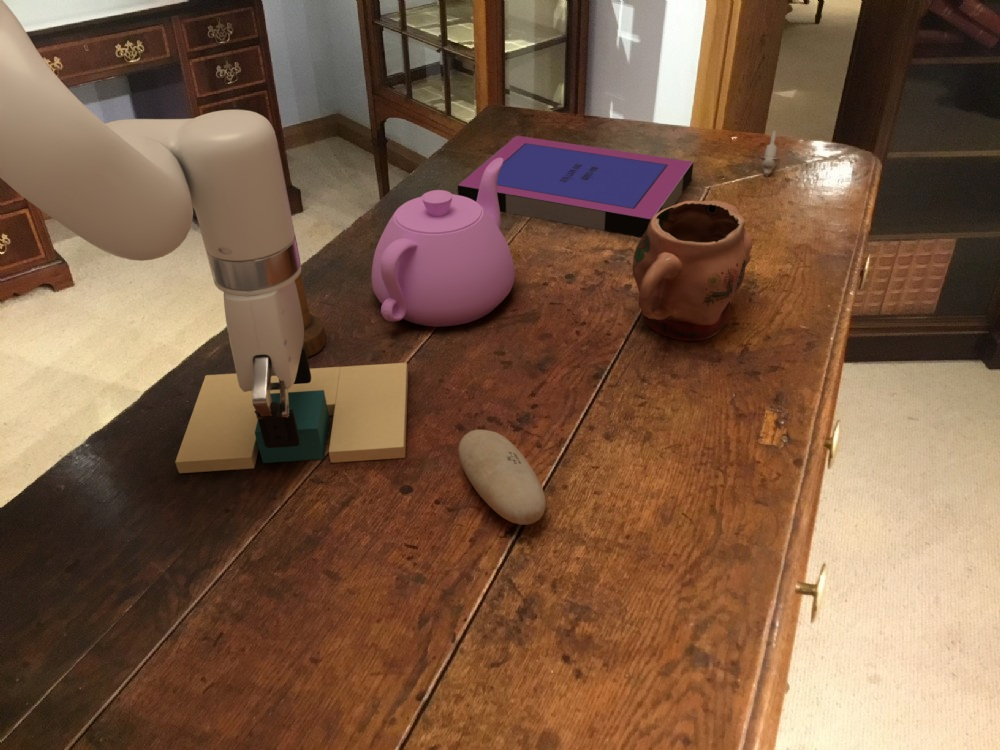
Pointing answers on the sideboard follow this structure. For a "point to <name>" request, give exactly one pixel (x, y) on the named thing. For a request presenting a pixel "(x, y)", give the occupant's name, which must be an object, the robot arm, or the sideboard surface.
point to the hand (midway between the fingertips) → (289, 412)
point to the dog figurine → (770, 156)
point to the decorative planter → (691, 268)
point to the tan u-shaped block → (348, 391)
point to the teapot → (444, 257)
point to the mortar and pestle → (310, 323)
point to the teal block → (301, 428)
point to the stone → (502, 476)
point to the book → (583, 184)
